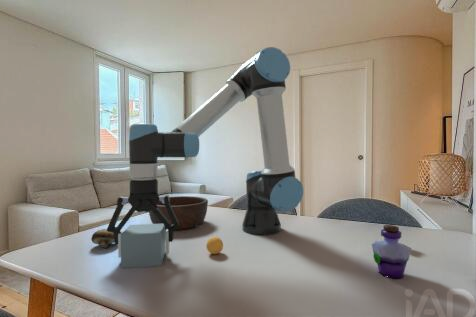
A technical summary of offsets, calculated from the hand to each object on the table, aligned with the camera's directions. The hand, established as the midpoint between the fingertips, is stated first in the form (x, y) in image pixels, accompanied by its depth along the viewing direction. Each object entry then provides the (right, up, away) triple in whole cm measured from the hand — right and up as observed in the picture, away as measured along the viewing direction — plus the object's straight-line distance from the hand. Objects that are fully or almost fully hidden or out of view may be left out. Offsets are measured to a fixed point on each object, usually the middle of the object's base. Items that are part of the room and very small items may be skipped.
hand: (144, 254), depth 76 cm
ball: (+20, +1, +4) cm, 20 cm away
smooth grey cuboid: (0, -1, 0) cm, 1 cm away
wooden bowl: (+1, -1, +39) cm, 39 cm away
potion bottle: (+64, -1, -10) cm, 65 cm away
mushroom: (-17, -2, +12) cm, 21 cm away
